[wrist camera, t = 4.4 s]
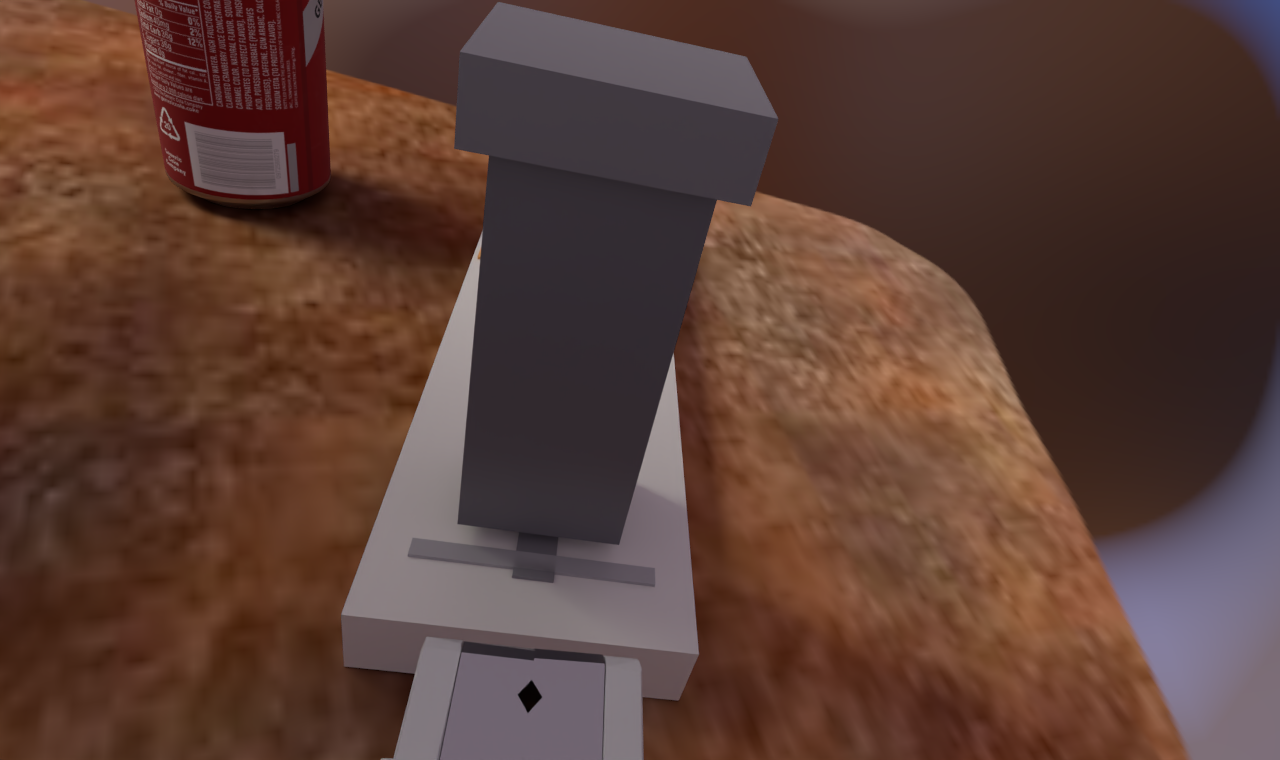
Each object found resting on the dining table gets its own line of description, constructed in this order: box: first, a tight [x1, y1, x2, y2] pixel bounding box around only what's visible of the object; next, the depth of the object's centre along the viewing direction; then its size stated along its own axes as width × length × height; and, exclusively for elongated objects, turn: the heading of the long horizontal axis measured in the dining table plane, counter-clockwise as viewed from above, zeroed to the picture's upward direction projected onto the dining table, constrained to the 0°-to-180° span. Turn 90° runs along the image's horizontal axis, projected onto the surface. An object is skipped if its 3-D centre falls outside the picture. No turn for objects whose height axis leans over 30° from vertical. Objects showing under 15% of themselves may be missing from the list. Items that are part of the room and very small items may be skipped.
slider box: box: [341, 231, 699, 701], centre depth 27 cm, size 24×8×2 cm, turn 1°
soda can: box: [135, 0, 331, 209], centre depth 31 cm, size 7×7×12 cm
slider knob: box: [454, 2, 778, 545], centre depth 16 cm, size 4×5×11 cm
